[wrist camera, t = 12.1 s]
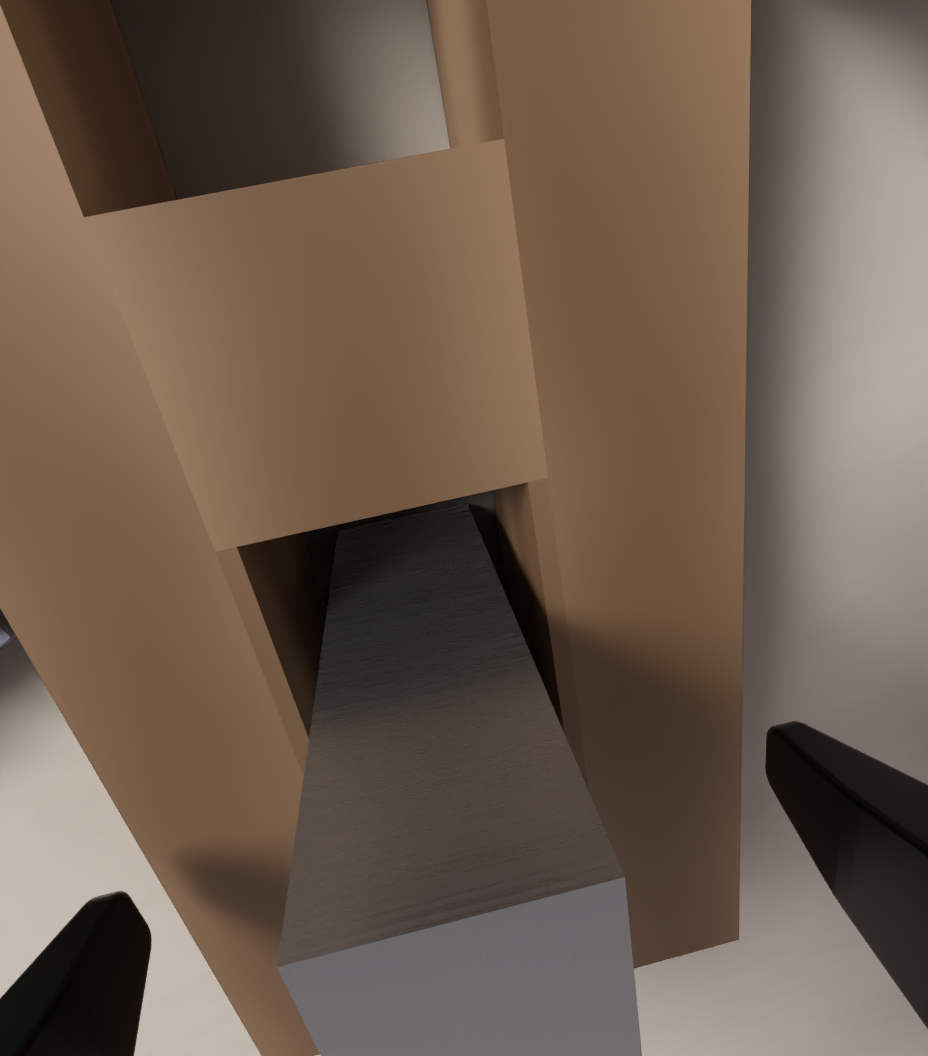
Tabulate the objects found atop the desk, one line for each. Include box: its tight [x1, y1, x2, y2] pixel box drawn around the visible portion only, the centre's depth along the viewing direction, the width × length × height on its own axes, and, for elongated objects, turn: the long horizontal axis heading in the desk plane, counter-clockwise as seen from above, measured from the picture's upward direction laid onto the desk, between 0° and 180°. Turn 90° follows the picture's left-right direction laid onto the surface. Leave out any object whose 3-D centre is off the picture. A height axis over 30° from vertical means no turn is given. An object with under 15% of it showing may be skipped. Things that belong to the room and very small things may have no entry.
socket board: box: [0, 0, 751, 1056], centre depth 9 cm, size 9×19×4 cm, turn 11°
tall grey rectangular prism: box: [277, 503, 642, 1056], centre depth 9 cm, size 2×6×8 cm, turn 10°
